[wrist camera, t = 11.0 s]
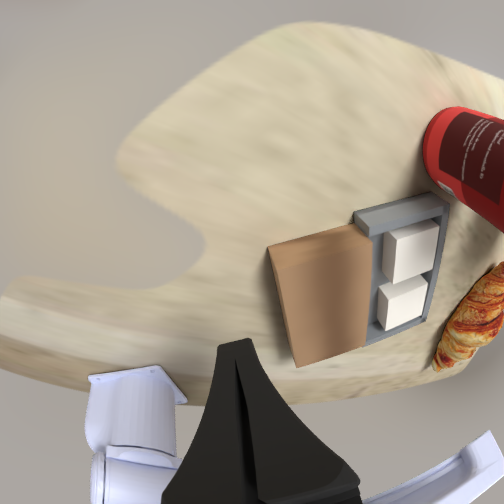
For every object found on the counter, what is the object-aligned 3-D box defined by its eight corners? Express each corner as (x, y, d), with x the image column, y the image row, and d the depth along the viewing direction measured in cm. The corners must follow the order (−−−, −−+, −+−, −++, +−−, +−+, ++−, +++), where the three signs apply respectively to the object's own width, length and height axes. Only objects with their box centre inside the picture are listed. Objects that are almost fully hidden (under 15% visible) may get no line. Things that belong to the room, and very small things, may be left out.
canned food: (476, 178, 21) (559, 235, 12) (420, 197, 22) (512, 272, 12) (476, 102, 17) (576, 141, 8) (415, 108, 17) (537, 153, 8)
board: (288, 344, 28) (296, 368, 26) (267, 246, 22) (276, 270, 19) (353, 324, 28) (365, 345, 26) (354, 222, 22) (372, 242, 19)
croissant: (431, 344, 42) (462, 369, 37) (408, 374, 37) (443, 404, 32) (492, 241, 31) (531, 269, 26) (484, 258, 25) (532, 294, 20)
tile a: (421, 314, 26) (412, 302, 28) (427, 283, 24) (416, 270, 25) (385, 331, 26) (376, 317, 28) (388, 300, 24) (378, 286, 25)
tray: (353, 330, 29) (362, 347, 27) (353, 211, 21) (369, 227, 19) (414, 306, 29) (425, 320, 27) (431, 191, 21) (449, 203, 19)
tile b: (432, 269, 23) (420, 256, 24) (439, 226, 20) (425, 214, 22) (392, 284, 23) (381, 270, 24) (396, 239, 20) (383, 227, 22)
